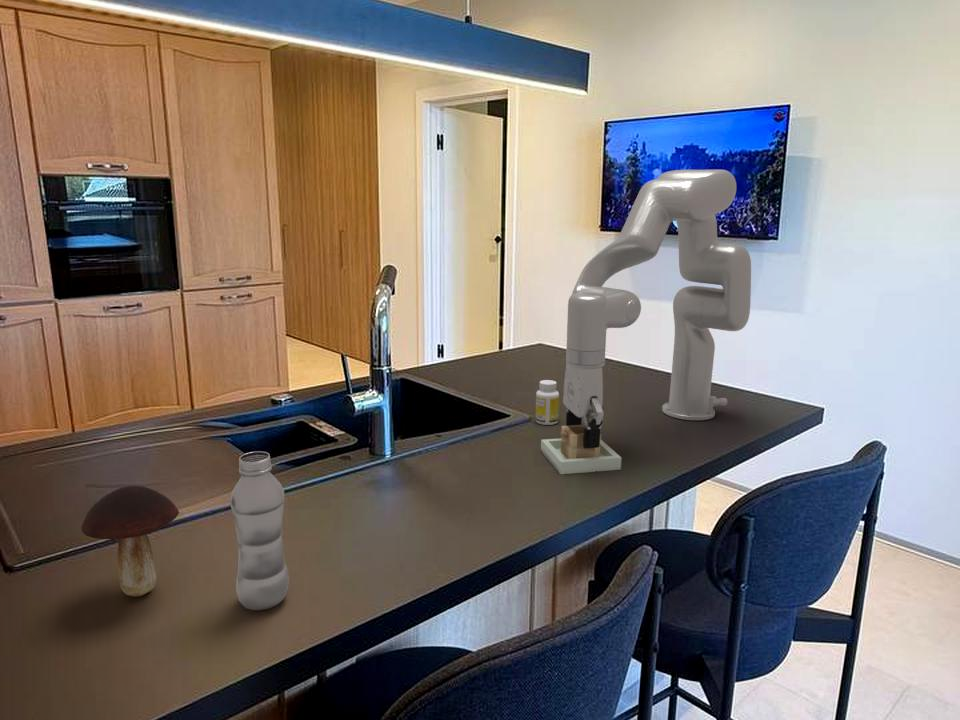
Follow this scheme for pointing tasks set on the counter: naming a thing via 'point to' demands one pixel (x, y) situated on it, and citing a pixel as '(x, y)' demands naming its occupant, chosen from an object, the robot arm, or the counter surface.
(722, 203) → the robot arm
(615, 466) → the tray
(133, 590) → the decorative mushroom
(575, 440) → the ring
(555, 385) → the supplement bottle
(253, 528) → the plastic bottle
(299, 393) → the counter surface
